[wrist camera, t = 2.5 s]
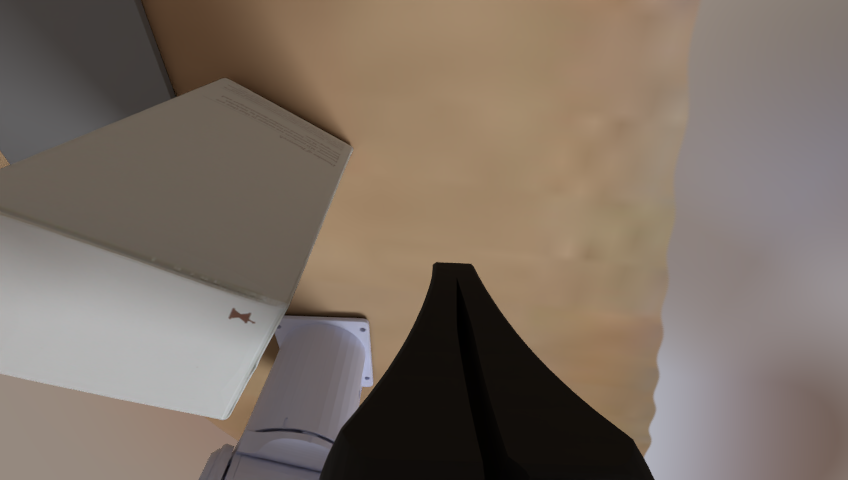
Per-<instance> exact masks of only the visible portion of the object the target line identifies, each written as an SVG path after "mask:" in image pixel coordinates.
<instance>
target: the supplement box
mask: <svg viewBox="0 0 848 480" xmlns="http://www.w3.org/2000/svg"><path fill="white" fill-rule="evenodd" d="M352 151H353V147H352V146H350V145H348V144H347V143H345V142H343V141H341V140H339V139H338V138H336V137H334V136H333V135H331V134H329V133H327V132H325V131H323V130H321V129H320V128H318V127H316V126H314V125H312V124H311V123H309V122H307V121H305V120H303V119H301V118H300V117H298V116H296V115H294V114H292V113H291V112H289V111H287V110H285V109H283V108H282V107H280V106H278V105H276V104H274V103H272V102H271V101H269V100H267V99H265V98H263V97H261V96H259V95H258V94H256V93H254V92H252V91H250V90H249V89H247V88H245V87H243V86H241V85H239V84H237V83H235V82H233V81H231V80H230V79H227V78H222V79H219V80H217V81H215V82H212V83H210V84H207V85H205V86H202V87H200V88H197V89H195V90H192V91H190V92H187V93H185V94H183V95H180V96H178V97H175V98H173V99H170V100H168V101H165V102H163V103H161V104H158V105H156V106H153V107H151V108H148V109H146V110H144V111H141V112H139V113H136V114H134V115H131V116H129V117H126V118H124V119H122V120H119V121H117V122H114V123H112V124H109V125H107V126H104V127H102V128H99V129H97V130H94V131H92V132H90V133H87V134H85V135H83V136H80V137H78V138H75V139H73V140H70V141H68V142H65V143H63V144H60V145H58V146H56V147H53V148H50V149H48V150H45V151H43V152H40V153H38V154H36V155H33V156H31V157H29V158H27V159H24V160H21V161H19V162H16V163H14V164H11V165H8V166H6V167H4V168H1V169H0V373H1V374H5V375H9V376H14V377H18V378H22V379H26V380H31V381H36V382H41V383H45V384H50V385H55V386H59V387H65V388H69V389H74V390H79V391H83V392H88V393H92V394H97V395H102V396H107V397H112V398H116V399H122V400H126V401H131V402H136V403H141V404H146V405H151V406H156V407H161V408H166V409H171V410H176V411H181V412H187V413H191V414H196V415H201V416H206V417H211V418H216V419H220V420H225V419H227V418H229V416H230V415H231V413H232V411H233V409H234V407H235V405H236V403H237V402H238V400H239V398H240V396H241V394H242V392H243V390H244V389H245V387H246V385H247V383H248V381H249V379H250V378H251V376H252V374H253V372H254V371H255V369H256V367H257V366H258V363H259V361H260V358H261V357H262V355H263V353H264V351H265V349H266V347H267V345H268V344H269V342H270V340H271V338H272V336H273V334H274V333H275V331H276V329H277V327H278V325H279V323H280V322H281V320H282V318H283V316H284V314H285V313H286V311H287V309H288V307H289V305H290V303H291V300H292V298H293V295H294V293H295V290H296V288H297V285H298V283H299V280H300V278H301V276H302V273H303V271H304V268H305V266H306V263H307V261H308V259H309V256H310V254H311V251H312V249H313V246H314V244H315V241H316V239H317V236H318V234H319V231H320V229H321V227H322V224H323V222H324V219H325V216H326V214H327V212H328V209H329V207H330V204H331V202H332V199H333V197H334V194H335V192H336V190H337V187H338V185H339V182H340V179H341V177H342V175H343V172H344V170H345V167H346V165H347V163H348V160H349V158H350V156H351V153H352Z"/></svg>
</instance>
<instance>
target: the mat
mask: <svg viewBox="0 0 848 480" xmlns="http://www.w3.org/2000/svg"><path fill="white" fill-rule="evenodd" d="M175 97H176V96H175V94H174V91H173V88H172V85H171V83H170V80H169V77H168V74H167V72H166V69H165V66H164V63H163V61H162V58H161V55H160V52H159V50H158V47H157V44H156V41H155V39H154V36H153V33H152V30H151V28H150V25H149V22H148V19H147V17H146V14H145V11H144V8H143V6H142V3H141V0H0V151H1V152H2V154H3V155H4V156H5V158H6V159H7V161H8V162H9V163H10V165H11V164H14V163H16V162H19V161H21V160H24V159H27V158H29V157H31V156H33V155H36V154H38V153H40V152H43V151H45V150H48V149H50V148H53V147H56V146H58V145H60V144H63V143H65V142H68V141H70V140H73V139H75V138H78V137H80V136H83V135H85V134H87V133H90V132H92V131H94V130H97V129H99V128H102V127H104V126H107V125H109V124H112V123H114V122H117V121H119V120H122V119H124V118H126V117H129V116H131V115H134V114H136V113H139V112H141V111H144V110H146V109H148V108H151V107H153V106H156V105H158V104H161V103H163V102H165V101H168V100H170V99H173V98H175Z"/></svg>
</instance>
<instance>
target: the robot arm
mask: <svg viewBox="0 0 848 480" xmlns="http://www.w3.org/2000/svg"><path fill="white" fill-rule="evenodd" d="M275 336H276V339H277V342H278V345H279V348H280V350H279V352H278V354H277V357H276V359H275V361H274V364H273V366H272V368H271V370H270V373H269V375H268V377H267V380H266V382H265V384H264V386H263V389H262V391H261V393H260V396H259V398H258V400H257V403H256V405H255V407H254V409H253V412H252V414H251V416H250V419H249V421H248V423H247V426H246V428H245V430H244V432H243V435H242V436H241V438H240V440H239V442H238V443H237V445H236V447H235V449H234V446H232V445H229V444H225V445H223V447H222V448H221V449H218V450H216V451H215V452H213V453H211V455H210V457H209V459H208V461H207V463H206V465H205V468H204V470H203V472H202V474H201V476H200V478H199V480H654V478H653V476H652V474H651V472H650V469H649V467H648V465H647V463H646V462H645V460H644V458H643V456H642V454H641V453H640V451H639V449H638V448H637V446H636V444H635V442H634V441H633V439H632V438H630V437H629V436H628V435H627V434H625V433H624V432H623V431H621V430H620V429H619V428H617V427H616V426H615V425H614V424H612V423H611V422H610V421H608V420H607V419H606V418H604V417H603V416H602V415H600V414H599V413H598V412H597V411H595V410H594V409H593V408H592V407H590V406H589V405H588V404H587V403H586V402H585V401H583V400H582V399H581V398H580V397H579V396H578V395H576V394H575V393H574V392H573V391H572V390H571V389H570V388H569V387H568V386H566V385H565V384H564V383H563V382H562V381H561V380H560V379H559V378H558V377H557V376H556V375H555V374H554V373H553V372H552V371H551V370H550V369H549V368H548V367H547V366H546V365H545V364H544V363H543V362H542V361H541V360H540V359H539V358H538V357H537V356H536V355H535V354H534V353H533V352H532V350H531V349H530V348H529V347H528V346H527V345H526V344H525V342H524V341H523V340H522V339H521V338H520V336H519V335H518V334H517V333H516V331H515V330H514V329H513V328H512V326H511V325H510V324H509V322H508V321H507V320H506V318H505V317H504V316H503V314H502V313H501V311H500V310H499V308H498V307H497V305H496V304H495V302H494V301H493V299H492V298H491V296H490V295H489V293H488V292H487V290H486V288H485V287H484V285H483V283H482V281H481V280H480V278H479V276H478V274H477V272H476V270H475V268H474V266H473V265H472V264H463V263H439V262H436V263H435V264H433V271H432V279H431V283H430V286H429V289H428V292H427V295H426V298H425V301H424V303H423V306H422V308H421V310H420V313H419V315H418V317H417V319H416V321H415V324H414V326H413V328H412V329H411V331H410V333H409V335H408V337H407V339H406V341H405V342H404V344H403V346H402V348H401V349H400V351H399V352H398V354H397V356H396V357H395V359H394V360H393V362H392V364H391V365H390V367H389V368H388V370H387V371H386V372H385V374H384V375H383V377H382V378H381V379H380V381H379V382H378V383H377V385H376V386H375V387H374V389H373V390H372V391H371V393H370V394H369V395H368V397H367V398H366V399H365V400H364V402H363V403H362V404H361V405H360V406H359V402H360V396H361V391H362V387H370V386H372V385H373V370H372V357H371V343H370V330H369V321H368V320H366V319H363V318H339V317H312V316H285V315H284V316H283V318H282V320H281V322H280V323H279V325H278V327H277V329H276V331H275ZM233 449H234V450H233ZM232 451H233V452H232Z"/></svg>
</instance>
